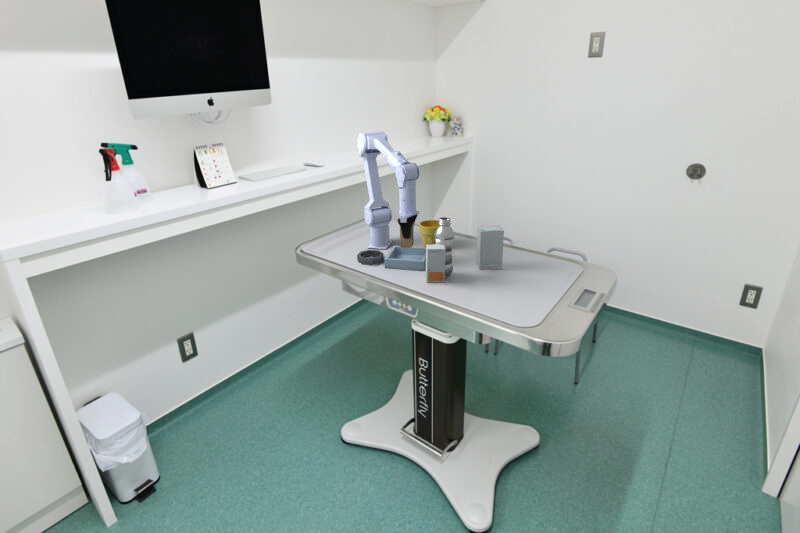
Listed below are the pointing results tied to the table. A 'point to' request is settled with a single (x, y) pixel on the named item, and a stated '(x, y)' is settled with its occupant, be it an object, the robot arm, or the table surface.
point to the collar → (376, 255)
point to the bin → (406, 258)
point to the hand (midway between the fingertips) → (407, 236)
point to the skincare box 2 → (489, 247)
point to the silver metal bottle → (445, 242)
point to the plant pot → (428, 231)
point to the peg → (409, 241)
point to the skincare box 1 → (435, 263)
